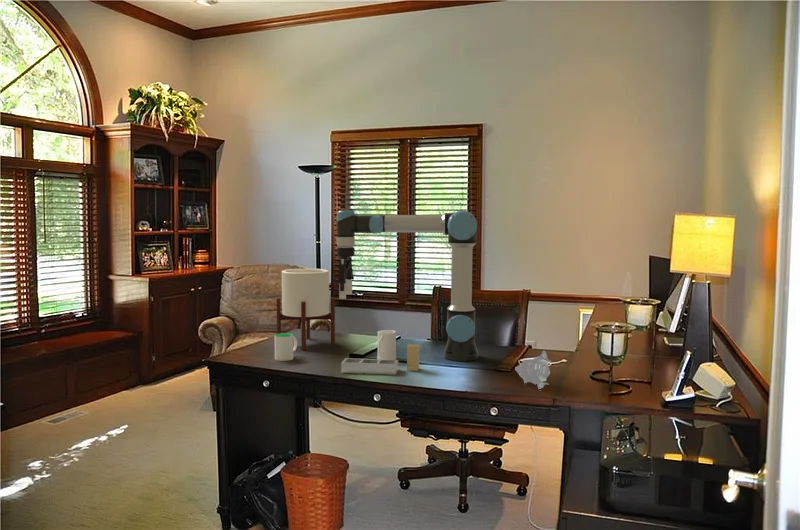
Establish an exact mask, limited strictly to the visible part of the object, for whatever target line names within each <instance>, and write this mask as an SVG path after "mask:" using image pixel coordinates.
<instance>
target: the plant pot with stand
mask: <svg viewBox="0 0 800 530" xmlns="http://www.w3.org/2000/svg"><path fill="white" fill-rule="evenodd" d="M275 300H276V334H281V333H282V320H283V321H299V320H300V323H301V324H300V325H301V335H300V336H301V339H300V340H301V351H303V352H304V351H307V340H311V321H312V320H315V321H316V320H323V321H324V320H330V345H335V344H336V318H335V317H336V316H335V315H336V307H335V306H336V303H335V301H336V298H335V297H333V296H332V297H330V270H328V269H323V268H289V269H284V270H282V271H281V297H276V299H275Z"/></svg>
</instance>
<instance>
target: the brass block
mask: <svg viewBox="0 0 800 530" xmlns="http://www.w3.org/2000/svg"><path fill="white" fill-rule="evenodd" d="M406 348H407V350H406V351H407V352H406V363H407V364H406V371H408V372H419V370H420V344H416V343H414V344H413V343H411V344H410V343H408V344H407V346H406Z"/></svg>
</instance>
